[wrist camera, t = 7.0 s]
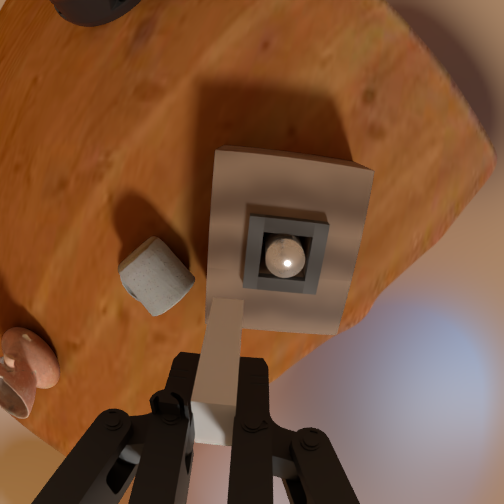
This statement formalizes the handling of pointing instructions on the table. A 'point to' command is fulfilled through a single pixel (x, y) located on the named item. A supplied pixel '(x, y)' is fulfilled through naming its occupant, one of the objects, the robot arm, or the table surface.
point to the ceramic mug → (155, 276)
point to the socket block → (285, 222)
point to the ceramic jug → (25, 370)
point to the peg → (283, 254)
